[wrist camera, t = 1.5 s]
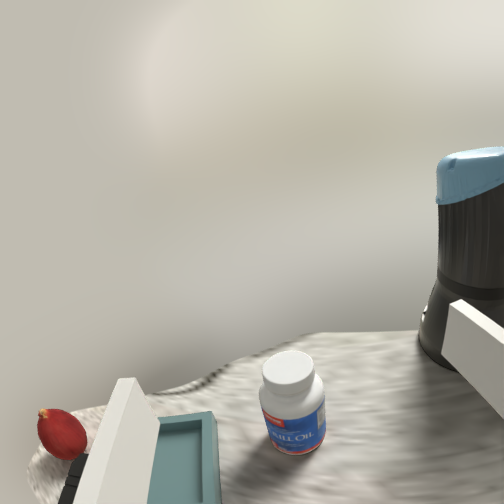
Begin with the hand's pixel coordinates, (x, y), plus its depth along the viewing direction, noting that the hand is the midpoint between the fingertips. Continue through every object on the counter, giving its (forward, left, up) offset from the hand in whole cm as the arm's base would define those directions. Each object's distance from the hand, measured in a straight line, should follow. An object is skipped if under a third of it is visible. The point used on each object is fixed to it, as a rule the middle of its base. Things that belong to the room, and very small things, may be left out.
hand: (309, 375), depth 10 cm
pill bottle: (0, -9, -17) cm, 19 cm away
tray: (+14, -7, -17) cm, 23 cm away
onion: (+25, -9, -17) cm, 32 cm away
